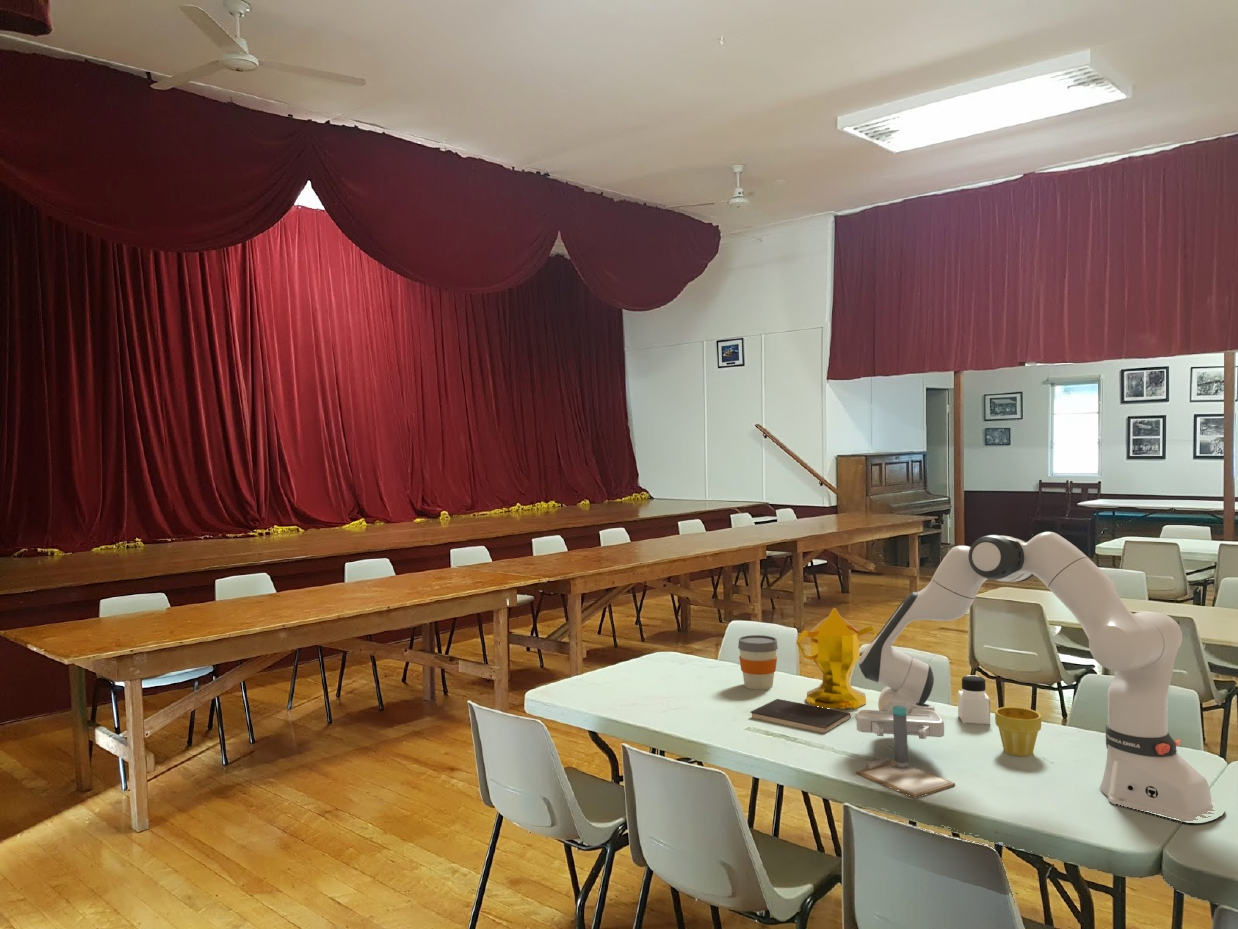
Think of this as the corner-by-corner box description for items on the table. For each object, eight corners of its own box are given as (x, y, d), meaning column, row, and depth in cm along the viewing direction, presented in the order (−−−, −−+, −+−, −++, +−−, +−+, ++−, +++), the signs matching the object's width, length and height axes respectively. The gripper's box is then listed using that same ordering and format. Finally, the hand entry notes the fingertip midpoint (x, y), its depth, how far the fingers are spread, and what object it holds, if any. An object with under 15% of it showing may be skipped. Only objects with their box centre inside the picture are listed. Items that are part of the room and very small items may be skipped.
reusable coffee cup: (784, 683, 278) (783, 637, 278) (769, 693, 268) (768, 645, 267) (748, 678, 285) (747, 633, 285) (732, 688, 274) (731, 641, 274)
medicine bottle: (990, 724, 234) (990, 680, 234) (962, 723, 235) (962, 680, 235) (984, 716, 241) (984, 674, 240) (957, 715, 242) (957, 673, 242)
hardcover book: (824, 735, 229) (824, 727, 229) (750, 719, 244) (750, 711, 244) (850, 720, 242) (850, 712, 242) (778, 706, 256) (778, 698, 256)
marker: (911, 767, 202) (909, 708, 202) (902, 770, 201) (900, 710, 201) (900, 763, 205) (898, 705, 205) (891, 766, 203) (889, 707, 203)
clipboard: (955, 785, 193) (954, 778, 193) (914, 798, 186) (914, 791, 186) (894, 762, 208) (894, 755, 208) (855, 773, 201) (855, 766, 201)
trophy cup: (888, 708, 250) (886, 612, 249) (805, 712, 248) (803, 615, 247) (866, 691, 267) (865, 602, 266) (789, 695, 265) (787, 604, 265)
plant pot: (1039, 762, 206) (1038, 721, 206) (992, 755, 211) (992, 715, 211) (1043, 749, 215) (1043, 710, 214) (999, 742, 220) (998, 704, 220)
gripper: (854, 701, 218) (855, 718, 204) (940, 705, 213) (946, 723, 199) (855, 725, 218) (855, 744, 205) (940, 731, 213) (946, 750, 199)
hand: (901, 734), depth 202 cm, fingers open, 8 cm apart
